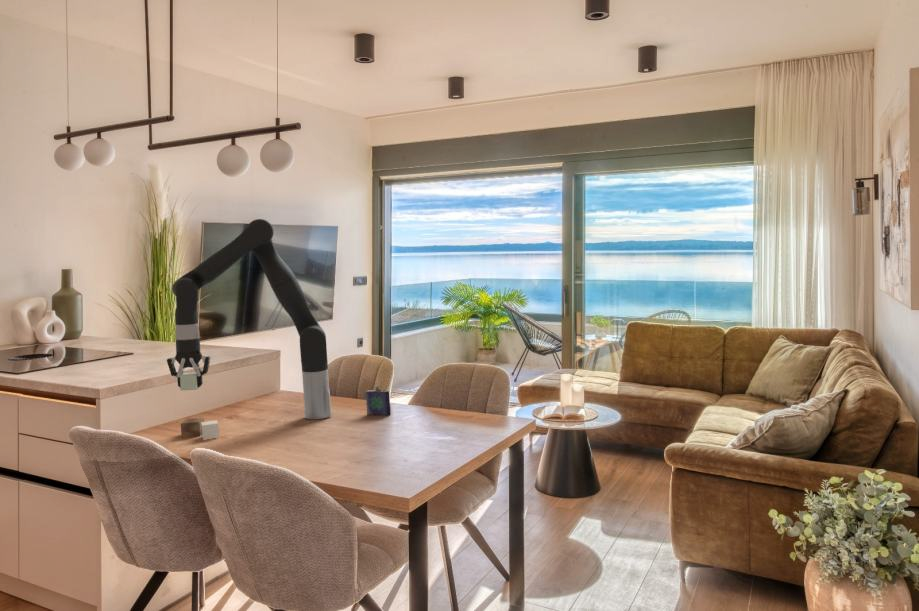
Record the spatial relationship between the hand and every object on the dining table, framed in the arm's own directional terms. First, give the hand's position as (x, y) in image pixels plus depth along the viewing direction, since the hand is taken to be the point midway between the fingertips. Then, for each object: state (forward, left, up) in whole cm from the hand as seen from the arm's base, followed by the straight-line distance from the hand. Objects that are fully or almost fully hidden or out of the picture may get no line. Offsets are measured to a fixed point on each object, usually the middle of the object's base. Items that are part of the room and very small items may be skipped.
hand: (190, 387), depth 223 cm
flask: (-63, -6, -16) cm, 65 cm away
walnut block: (0, 0, -16) cm, 16 cm away
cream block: (-7, +6, -16) cm, 19 cm away
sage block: (0, 0, 0) cm, 0 cm away
